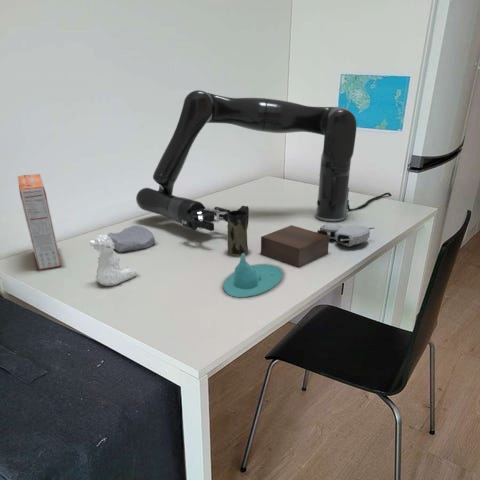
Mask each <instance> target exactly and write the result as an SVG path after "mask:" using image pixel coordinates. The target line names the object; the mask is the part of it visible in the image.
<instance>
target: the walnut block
mask: <svg viewBox="0 0 480 480" xmlns="http://www.w3.org/2000/svg"><path fill="white" fill-rule="evenodd" d="M329 243H330V240H329V236H327V235H324V234H320V233H317V231H313V230H310V229H306V228H302V227H300V226H296V225H292V224H291V225H288V226H286V227H283V228H280V229H278V230H275V231H272V232H270V233H267V234H264V235H263V236H260V255H262V256H265V257H269V258H271V259H274V260H277V261H280V262H283V263H286V264H288V265H290V266H293V267H296V268H299V267H302V266H305V265H306V264H308V263H311V262H312V261H315V260H317V259H319V258H321V257H323V256H325V255H327V254H328V253H329V245H330V244H329Z"/></svg>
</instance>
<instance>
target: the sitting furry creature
mask: <svg viewBox="0 0 480 480" xmlns="http://www.w3.org/2000/svg"><path fill="white" fill-rule="evenodd" d="M112 241H113V240H112V239H111V238H110V237H108V234H104V233H102V234H98V235H97V236H96V237H95V239H89V240H88V242H89V245H90V246H91V247H92V248H93V249H94V250H96V251H97V252H98V253H99V255H98V257H97V267H96V268H97V269H96V274H95V275H96V276H95V277H96V279H97V282H98V283H99V284H100V285H102V286H105V287H112V286H117V285H119V284H121V283H124V282H126V281H128V280H130V279H132V278H135V276H137V273H138V272H137V270H136V269H135V268H132V267H131V268H130V267H126V268H124V269H122V268H121V267H120V261H121V258H120V257H118V255H117V254H116V252H115V251H114V250H115V249H114V248H115V247H114V245H115V244H114V243H113V242H112Z"/></svg>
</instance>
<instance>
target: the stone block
mask: <svg viewBox="0 0 480 480" xmlns="http://www.w3.org/2000/svg"><path fill="white" fill-rule="evenodd" d="M107 235H108V237H110V238H111V239H112V240H113V241H112V242H113V243H114V244H115V245H114V247H115V248H114V249H113V250H115V251H116V252H119V253H125V252H129V251H137V250H141V249H142V250H143V249H147V248H150V247H152V246H153V245H155V244H156V239H155V235H154V233H153V232H152V231H150V230H149V229H148V228H147V227H144V226H142V225H136V224H135V225H131V226H129V227H125V228H124V229H122V230H121V231H119V232H115V233H114V232H109V233H108V234H107Z"/></svg>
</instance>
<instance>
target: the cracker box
mask: <svg viewBox="0 0 480 480" xmlns="http://www.w3.org/2000/svg"><path fill="white" fill-rule="evenodd" d="M17 183H18V191H19V196H20V200H21V205H22V209H23V214H24V218H25V222H26V226H27V229H28V233H29V237H30V242H31V246H32V249H33V254H34V256H35V260H36V264H37V268H38V270H39V271H40V270H48V269H54V268H60V267H62V262H61V256H60V252H59V248H58V243H57V239H56V234H55V229H54V224H53V220H52V216H51V211H50V206H49V202H48V196H47V192H46V189H45V185H44V182H43V178H42V175H41V174H40V173H35V174H22V175H18V176H17Z"/></svg>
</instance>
